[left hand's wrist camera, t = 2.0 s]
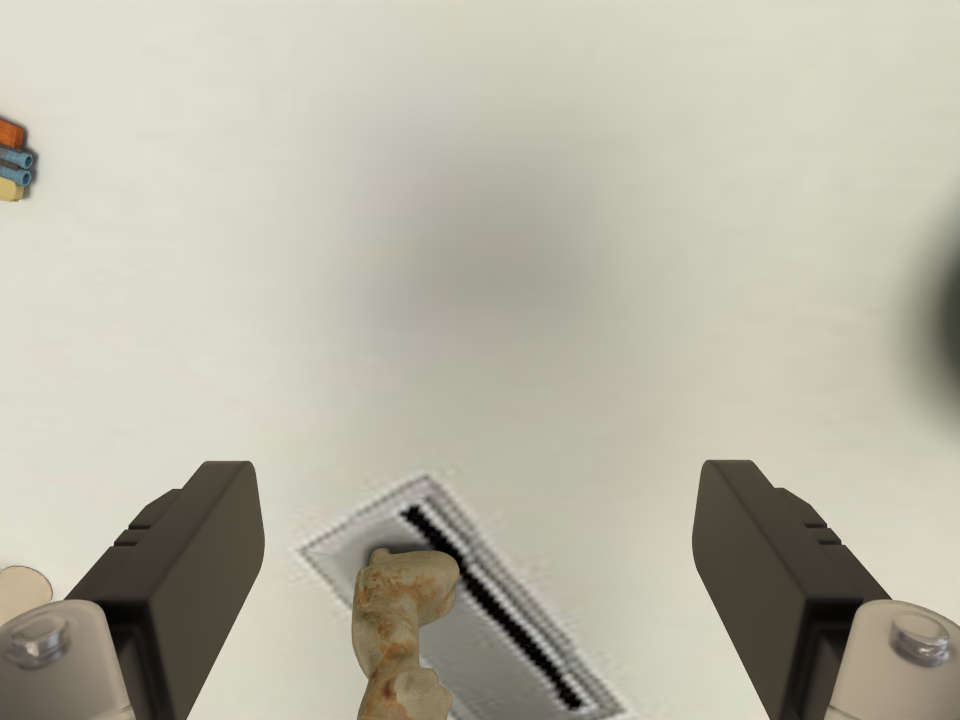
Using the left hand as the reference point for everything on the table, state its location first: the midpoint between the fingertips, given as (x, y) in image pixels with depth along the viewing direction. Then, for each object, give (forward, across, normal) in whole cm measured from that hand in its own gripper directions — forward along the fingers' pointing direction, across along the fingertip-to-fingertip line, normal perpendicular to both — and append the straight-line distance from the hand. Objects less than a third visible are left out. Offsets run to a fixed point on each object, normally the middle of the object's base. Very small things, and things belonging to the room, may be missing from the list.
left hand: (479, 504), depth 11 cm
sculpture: (+29, -5, -24) cm, 39 cm away
